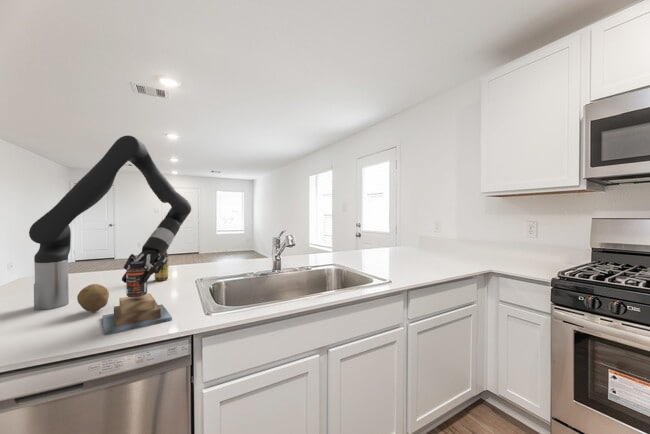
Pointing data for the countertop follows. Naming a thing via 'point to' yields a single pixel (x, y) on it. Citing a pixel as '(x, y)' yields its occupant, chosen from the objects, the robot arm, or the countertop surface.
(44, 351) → the countertop surface
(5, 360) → the countertop surface
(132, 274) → the supplement bottle
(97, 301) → the natural sponge
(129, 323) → the block tower
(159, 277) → the sauce bottle
